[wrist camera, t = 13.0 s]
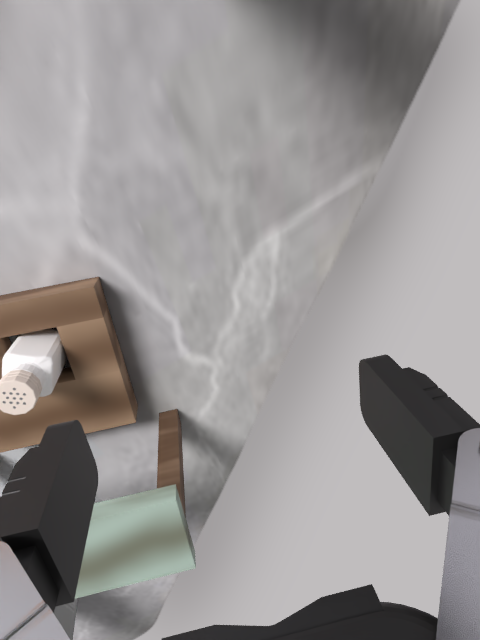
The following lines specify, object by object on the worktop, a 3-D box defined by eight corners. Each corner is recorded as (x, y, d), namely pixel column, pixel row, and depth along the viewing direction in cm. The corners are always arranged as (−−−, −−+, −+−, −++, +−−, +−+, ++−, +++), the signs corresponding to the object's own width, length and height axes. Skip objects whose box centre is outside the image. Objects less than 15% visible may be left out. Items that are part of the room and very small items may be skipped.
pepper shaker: (24, 324, 40) (-15, 373, 32) (68, 328, 41) (42, 378, 33) (24, 361, 42) (-14, 418, 33) (66, 364, 43) (41, 421, 34)
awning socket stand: (-107, 316, 38) (-303, 440, 22) (146, 267, 40) (132, 350, 24) (-23, 473, 46) (-125, 649, 30) (186, 426, 48) (195, 568, 32)
